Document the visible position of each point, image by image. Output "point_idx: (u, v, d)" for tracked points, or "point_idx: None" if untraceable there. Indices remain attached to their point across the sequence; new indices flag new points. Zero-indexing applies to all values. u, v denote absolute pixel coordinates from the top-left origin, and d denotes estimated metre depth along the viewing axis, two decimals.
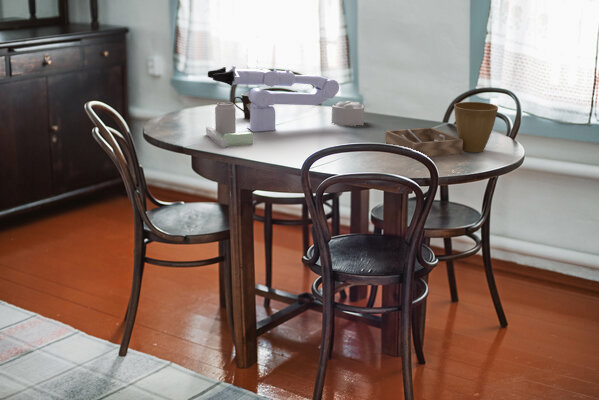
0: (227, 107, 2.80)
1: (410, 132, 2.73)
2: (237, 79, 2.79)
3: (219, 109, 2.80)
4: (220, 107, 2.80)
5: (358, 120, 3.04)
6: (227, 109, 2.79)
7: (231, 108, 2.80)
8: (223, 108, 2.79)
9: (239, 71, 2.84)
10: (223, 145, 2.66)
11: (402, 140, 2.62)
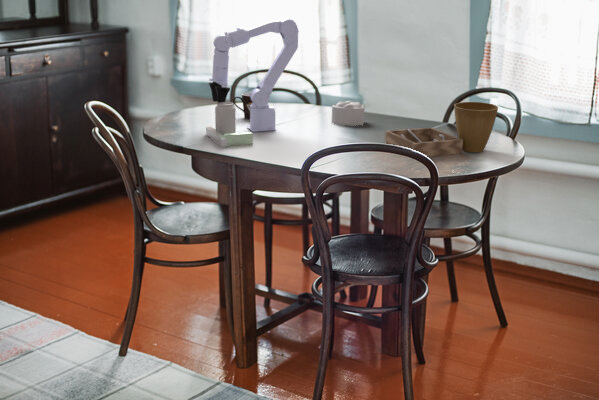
0: (227, 107, 2.80)
1: (410, 132, 2.73)
2: (224, 85, 2.81)
3: (219, 109, 2.80)
4: (220, 107, 2.80)
5: (358, 120, 3.04)
6: (227, 109, 2.79)
7: (231, 108, 2.80)
8: (223, 108, 2.79)
9: (215, 76, 2.84)
10: (223, 145, 2.66)
11: (402, 140, 2.62)
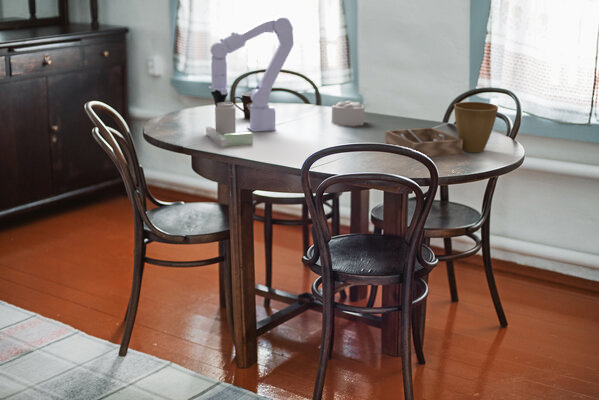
0: (227, 107, 2.80)
1: (410, 132, 2.74)
2: (224, 92, 2.82)
3: (219, 109, 2.80)
4: (220, 107, 2.80)
5: (358, 120, 3.04)
6: (227, 109, 2.79)
7: (231, 108, 2.80)
8: (223, 108, 2.79)
9: (214, 83, 2.85)
10: (223, 145, 2.66)
11: (402, 140, 2.62)
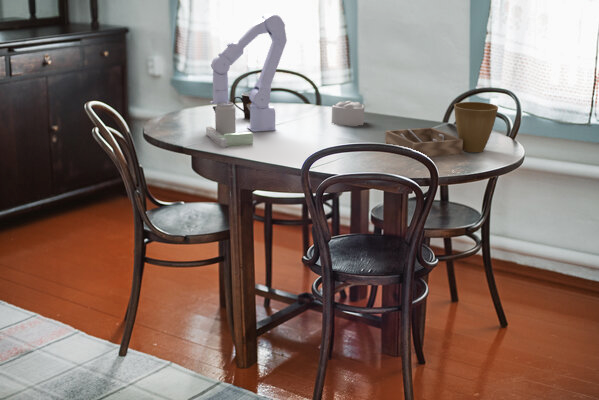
0: (227, 107, 2.80)
1: (410, 131, 2.74)
2: None
3: (219, 109, 2.80)
4: (220, 107, 2.80)
5: (358, 120, 3.04)
6: (227, 109, 2.79)
7: (231, 108, 2.80)
8: (223, 108, 2.79)
9: (216, 98, 2.85)
10: (223, 145, 2.66)
11: (402, 140, 2.62)
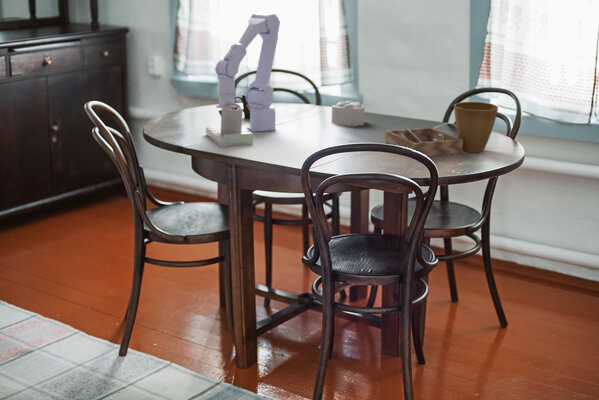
0: (234, 112, 2.72)
1: (409, 131, 2.74)
2: None
3: (226, 114, 2.72)
4: (227, 112, 2.72)
5: (358, 120, 3.04)
6: (234, 115, 2.71)
7: (238, 113, 2.72)
8: (230, 113, 2.71)
9: (222, 102, 2.77)
10: (223, 145, 2.66)
11: (402, 140, 2.62)
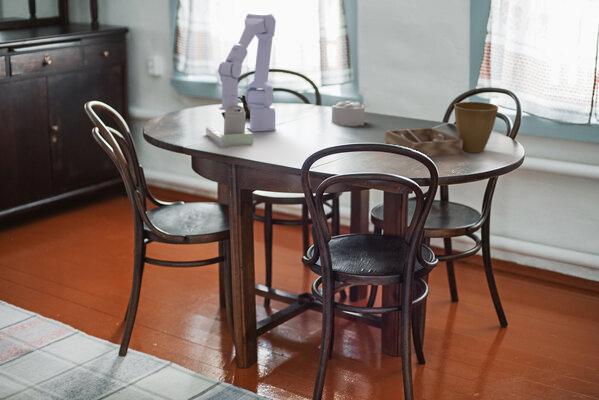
0: (238, 115, 2.68)
1: (409, 132, 2.74)
2: None
3: (229, 116, 2.68)
4: (230, 114, 2.68)
5: (358, 120, 3.04)
6: (237, 117, 2.68)
7: (242, 115, 2.69)
8: (234, 116, 2.68)
9: (225, 104, 2.74)
10: (223, 145, 2.66)
11: (402, 140, 2.62)
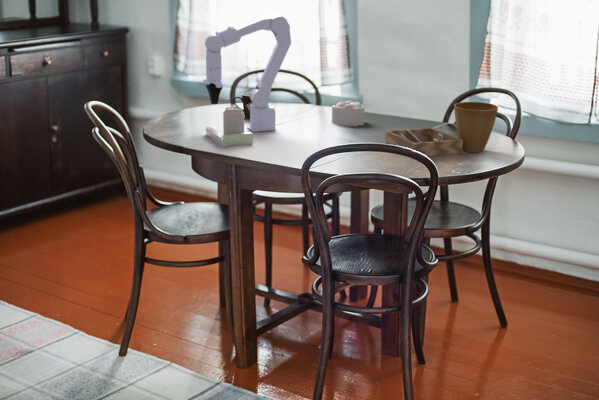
0: (236, 112, 2.71)
1: (409, 131, 2.74)
2: (219, 85, 2.80)
3: (228, 114, 2.71)
4: (229, 112, 2.71)
5: (358, 120, 3.04)
6: (236, 114, 2.70)
7: (240, 113, 2.72)
8: (232, 113, 2.70)
9: (209, 76, 2.83)
10: (223, 145, 2.66)
11: (402, 140, 2.62)
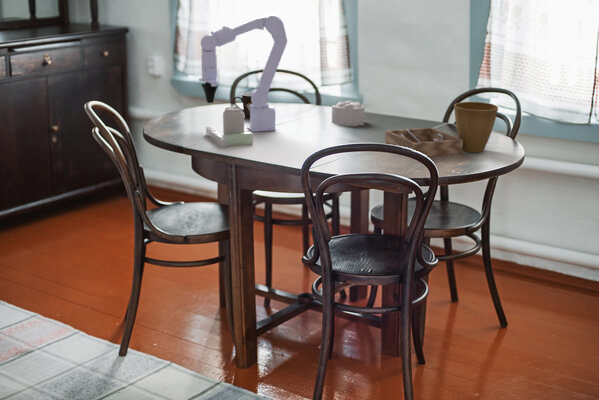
0: (236, 112, 2.71)
1: (408, 132, 2.74)
2: (214, 84, 2.83)
3: (228, 114, 2.71)
4: (229, 112, 2.71)
5: (358, 120, 3.04)
6: (236, 114, 2.70)
7: (240, 113, 2.71)
8: (232, 113, 2.70)
9: (204, 75, 2.86)
10: (223, 145, 2.66)
11: (402, 140, 2.62)
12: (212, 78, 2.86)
